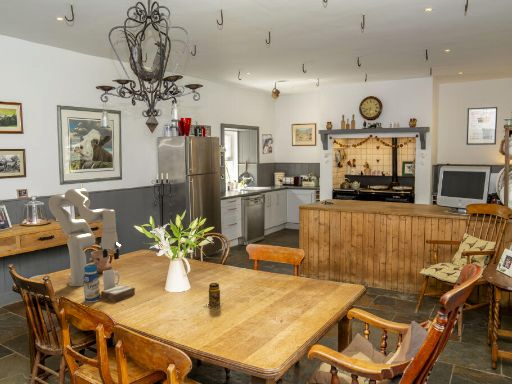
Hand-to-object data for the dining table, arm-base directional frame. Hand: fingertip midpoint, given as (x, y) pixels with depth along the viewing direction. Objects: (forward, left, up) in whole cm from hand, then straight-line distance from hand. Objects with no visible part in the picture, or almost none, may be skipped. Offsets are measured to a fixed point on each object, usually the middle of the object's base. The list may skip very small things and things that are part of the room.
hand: (110, 258), depth 257 cm
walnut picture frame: (+12, -6, -20) cm, 24 cm away
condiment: (+69, +9, -20) cm, 72 cm away
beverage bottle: (+4, -18, -20) cm, 27 cm away
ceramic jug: (-39, +25, -20) cm, 51 cm away
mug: (0, 0, -20) cm, 20 cm away
